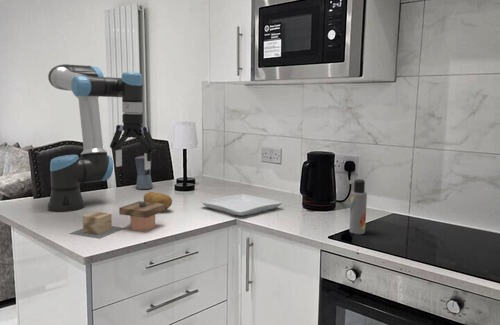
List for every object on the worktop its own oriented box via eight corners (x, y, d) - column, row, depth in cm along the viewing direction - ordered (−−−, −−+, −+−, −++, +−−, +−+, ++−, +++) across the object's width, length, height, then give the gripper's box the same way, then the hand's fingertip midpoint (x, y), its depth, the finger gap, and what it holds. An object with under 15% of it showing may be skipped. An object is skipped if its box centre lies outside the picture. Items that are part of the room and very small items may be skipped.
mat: (68, 234, 152) (68, 233, 152) (96, 224, 165) (96, 223, 165) (99, 239, 147) (99, 238, 147) (125, 229, 159) (125, 228, 159)
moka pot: (146, 185, 246) (146, 151, 243) (159, 189, 234) (158, 153, 231) (131, 187, 240) (130, 152, 237) (143, 191, 228) (142, 154, 225)
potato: (163, 215, 180) (163, 196, 179) (138, 210, 187) (138, 193, 186) (177, 210, 189) (177, 192, 188) (153, 206, 196) (153, 189, 195)
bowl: (125, 229, 159) (125, 214, 158) (140, 223, 167) (140, 208, 166) (146, 232, 156) (145, 216, 155) (159, 226, 164) (159, 211, 163)
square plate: (283, 209, 194) (283, 201, 193) (240, 220, 175) (240, 211, 174) (242, 200, 213) (242, 192, 212) (199, 208, 194) (199, 200, 193)
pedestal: (83, 232, 154) (82, 216, 153) (96, 227, 160) (96, 211, 159) (98, 234, 151) (98, 218, 150) (111, 229, 157) (111, 213, 157)
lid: (119, 214, 157) (119, 203, 157) (139, 207, 168) (139, 197, 168) (146, 218, 153) (146, 207, 152) (165, 210, 164) (164, 200, 163)
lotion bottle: (367, 232, 159) (370, 179, 157) (360, 235, 155) (363, 181, 153) (353, 229, 163) (356, 178, 161) (346, 232, 159) (348, 179, 156)
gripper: (99, 112, 164) (101, 166, 167) (154, 115, 155) (154, 172, 158) (112, 111, 171) (113, 163, 174) (165, 114, 162) (165, 169, 165)
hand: (133, 167), depth 166 cm, fingers open, 13 cm apart
